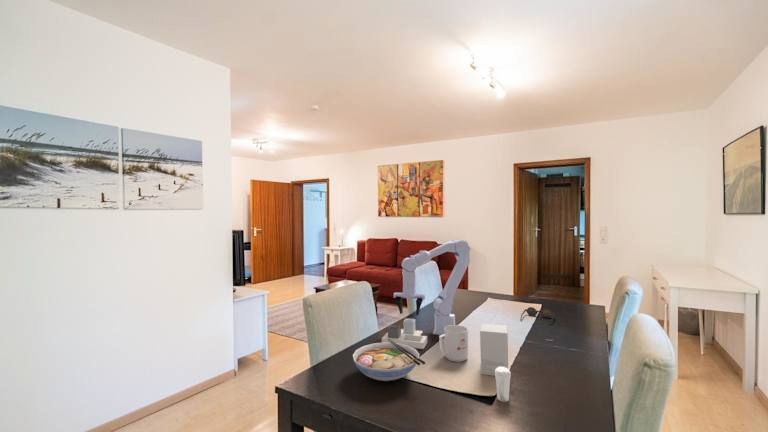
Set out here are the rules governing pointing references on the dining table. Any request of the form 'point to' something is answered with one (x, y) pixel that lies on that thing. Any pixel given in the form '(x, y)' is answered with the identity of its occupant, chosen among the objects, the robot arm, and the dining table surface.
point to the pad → (415, 332)
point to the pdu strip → (404, 338)
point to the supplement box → (493, 348)
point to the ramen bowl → (386, 360)
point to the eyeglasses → (544, 313)
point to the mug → (455, 343)
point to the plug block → (409, 326)
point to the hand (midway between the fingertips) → (409, 314)
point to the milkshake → (502, 383)
